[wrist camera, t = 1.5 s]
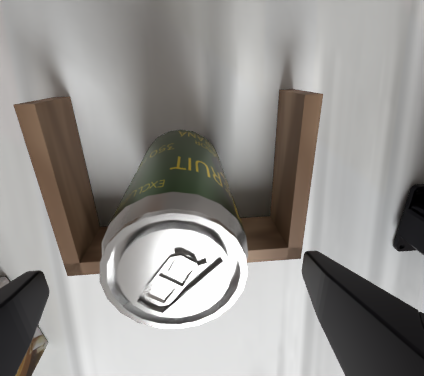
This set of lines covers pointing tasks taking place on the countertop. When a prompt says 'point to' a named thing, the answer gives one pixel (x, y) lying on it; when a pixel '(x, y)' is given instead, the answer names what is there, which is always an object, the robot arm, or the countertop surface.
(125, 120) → the countertop surface
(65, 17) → the countertop surface
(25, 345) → the robot arm
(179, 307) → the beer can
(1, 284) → the coffee box
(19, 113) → the wooden u-shaped frame
